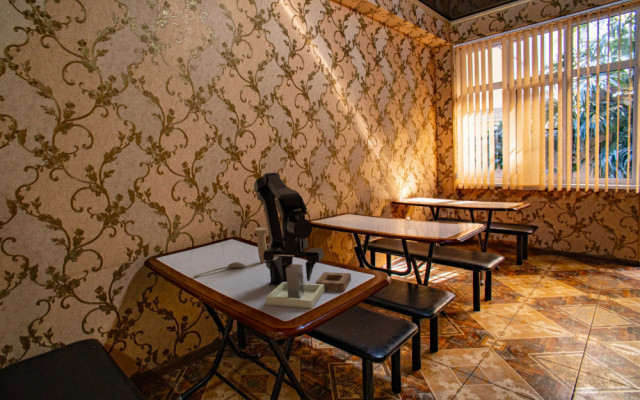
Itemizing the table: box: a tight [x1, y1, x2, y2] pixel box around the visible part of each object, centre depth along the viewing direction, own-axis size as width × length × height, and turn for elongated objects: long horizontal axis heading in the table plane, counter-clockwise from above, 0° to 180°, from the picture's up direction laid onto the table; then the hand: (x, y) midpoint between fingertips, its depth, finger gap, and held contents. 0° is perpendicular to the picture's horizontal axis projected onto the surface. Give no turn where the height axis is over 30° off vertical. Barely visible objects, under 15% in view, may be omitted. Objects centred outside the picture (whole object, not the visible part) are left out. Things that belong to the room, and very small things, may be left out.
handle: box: [253, 227, 268, 264], centre depth 149 cm, size 5×6×15 cm
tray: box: [265, 282, 326, 310], centre depth 109 cm, size 15×13×2 cm
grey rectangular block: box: [286, 263, 304, 299], centre depth 109 cm, size 4×4×10 cm
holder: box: [315, 271, 352, 292], centre depth 119 cm, size 10×10×2 cm
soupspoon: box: [193, 261, 247, 279], centre depth 141 cm, size 22×3×7 cm
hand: (295, 280), depth 109 cm, fingers open, 9 cm apart
